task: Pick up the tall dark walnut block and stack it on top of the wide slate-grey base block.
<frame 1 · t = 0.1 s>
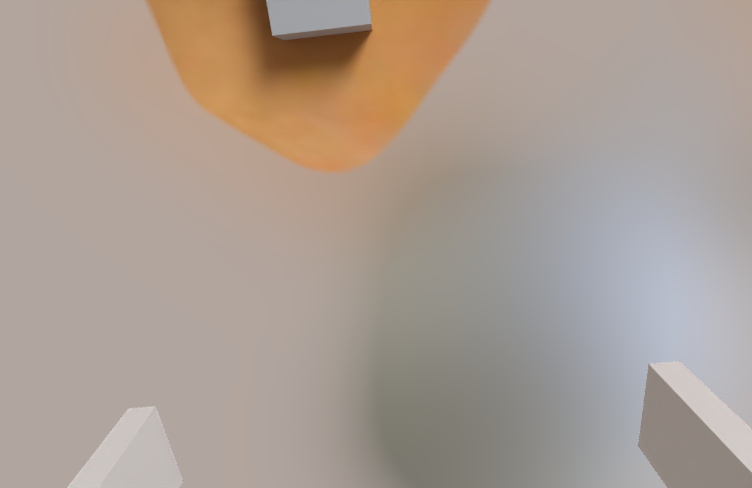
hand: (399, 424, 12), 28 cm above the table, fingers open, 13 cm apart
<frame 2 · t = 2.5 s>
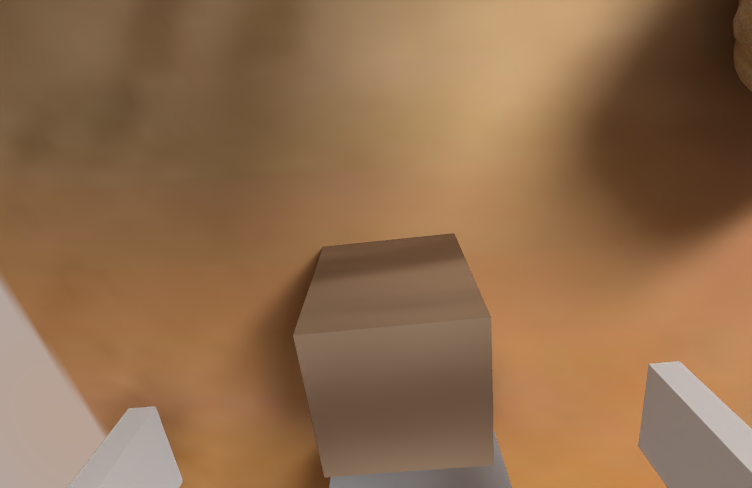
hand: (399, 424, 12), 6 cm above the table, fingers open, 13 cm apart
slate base: (414, 474, 21), on the table
walnut block: (394, 297, 17), on the table
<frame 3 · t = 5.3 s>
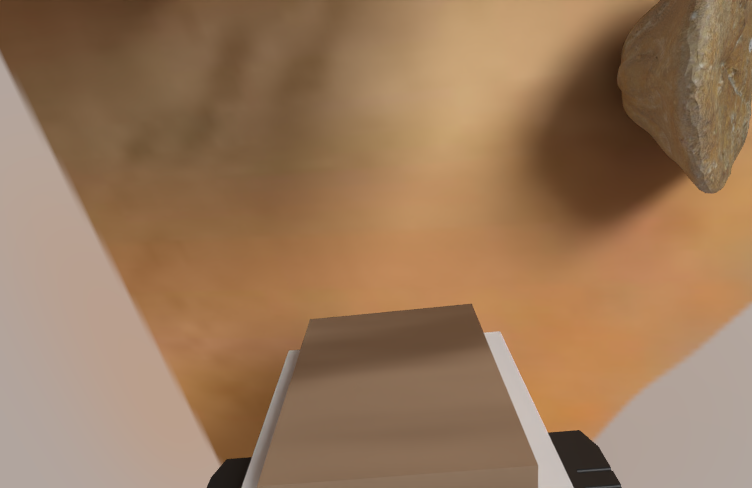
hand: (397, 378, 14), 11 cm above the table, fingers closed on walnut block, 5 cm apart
fossil: (666, 69, 21), on the table
walnut block: (398, 379, 14), point 10 cm above the table, touching gripper
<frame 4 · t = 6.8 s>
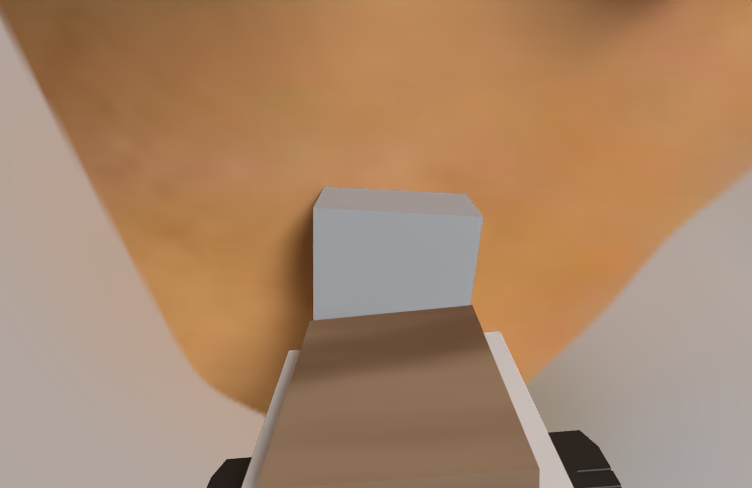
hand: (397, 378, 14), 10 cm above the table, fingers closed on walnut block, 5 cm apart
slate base: (390, 253, 23), on the table
walnut block: (398, 380, 14), point 9 cm above the table, touching gripper
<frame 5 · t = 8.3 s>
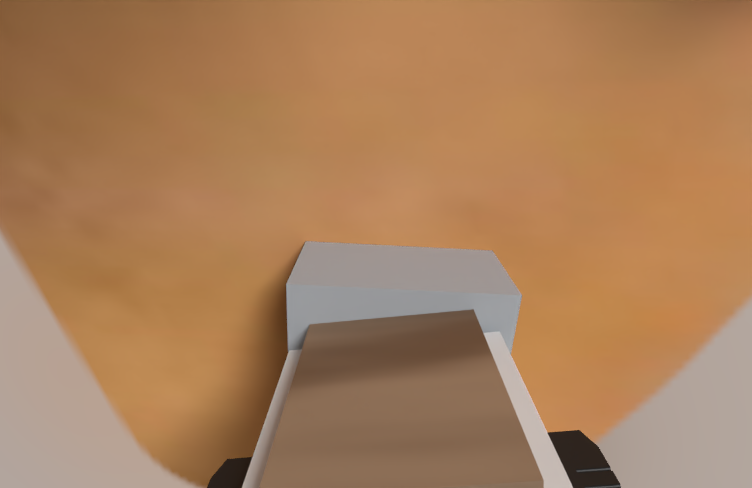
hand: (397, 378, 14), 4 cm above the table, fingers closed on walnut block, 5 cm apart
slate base: (393, 321, 18), on the table, touching gripper, walnut block
walnut block: (398, 384, 14), point 4 cm above the table, touching gripper, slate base
when the fingers open (4 cm above the table, at t = 8.4 s): walnut block stays where it is, resting on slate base.
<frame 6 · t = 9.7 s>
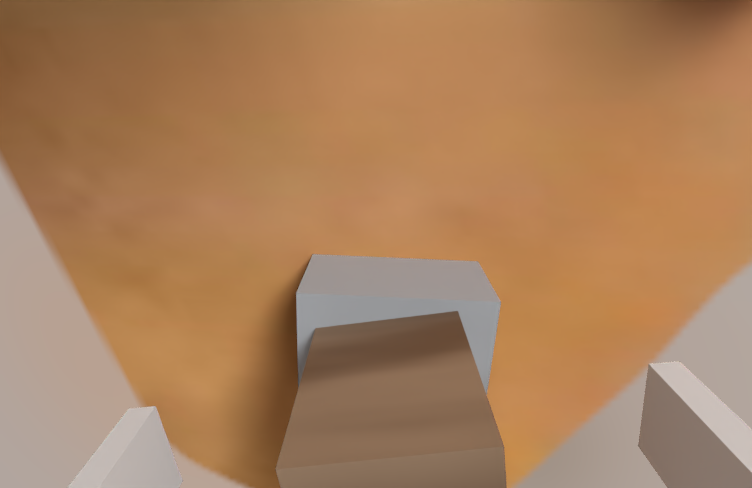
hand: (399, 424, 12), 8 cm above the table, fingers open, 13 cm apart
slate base: (390, 327, 20), on the table, touching walnut block
walnut block: (395, 379, 16), point 4 cm above the table, touching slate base
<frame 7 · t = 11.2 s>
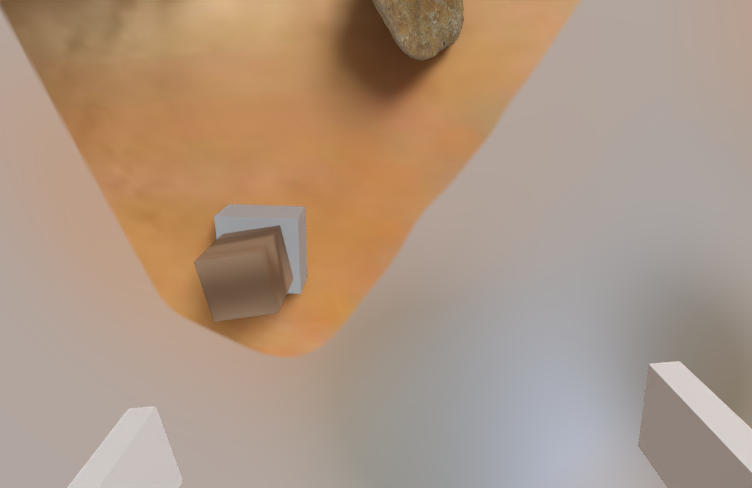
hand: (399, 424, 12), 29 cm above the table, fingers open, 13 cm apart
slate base: (270, 240, 41), on the table, touching walnut block
walnut block: (258, 256, 37), point 4 cm above the table, touching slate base
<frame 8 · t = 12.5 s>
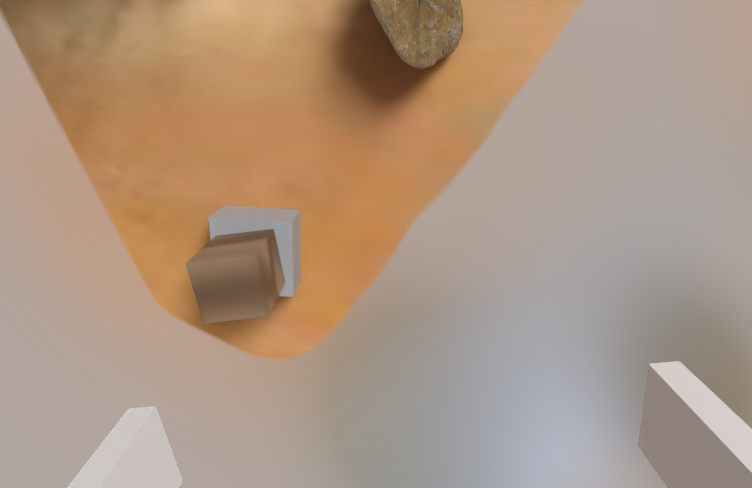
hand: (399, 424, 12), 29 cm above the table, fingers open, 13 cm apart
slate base: (264, 242, 41), on the table
fossil: (414, 0, 34), on the table
walnut block: (251, 259, 37), point 4 cm above the table
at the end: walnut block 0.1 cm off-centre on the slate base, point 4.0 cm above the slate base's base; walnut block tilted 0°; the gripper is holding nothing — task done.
